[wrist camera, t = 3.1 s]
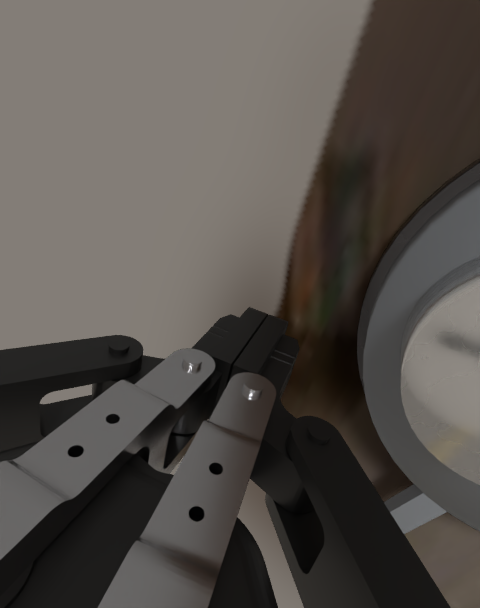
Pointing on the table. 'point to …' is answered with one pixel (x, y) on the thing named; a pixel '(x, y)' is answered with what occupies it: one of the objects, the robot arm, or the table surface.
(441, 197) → the turntable base
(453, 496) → the turntable
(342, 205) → the table surface
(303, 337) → the table surface
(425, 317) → the cover
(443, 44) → the table surface
